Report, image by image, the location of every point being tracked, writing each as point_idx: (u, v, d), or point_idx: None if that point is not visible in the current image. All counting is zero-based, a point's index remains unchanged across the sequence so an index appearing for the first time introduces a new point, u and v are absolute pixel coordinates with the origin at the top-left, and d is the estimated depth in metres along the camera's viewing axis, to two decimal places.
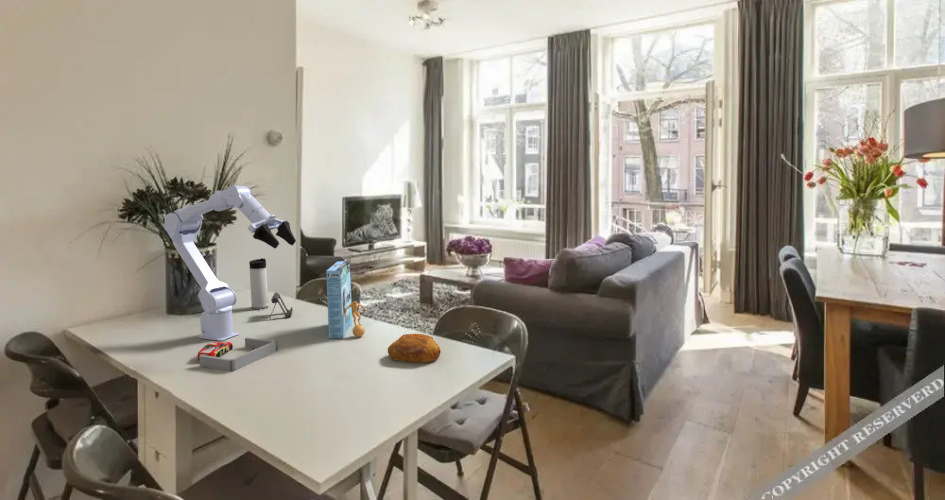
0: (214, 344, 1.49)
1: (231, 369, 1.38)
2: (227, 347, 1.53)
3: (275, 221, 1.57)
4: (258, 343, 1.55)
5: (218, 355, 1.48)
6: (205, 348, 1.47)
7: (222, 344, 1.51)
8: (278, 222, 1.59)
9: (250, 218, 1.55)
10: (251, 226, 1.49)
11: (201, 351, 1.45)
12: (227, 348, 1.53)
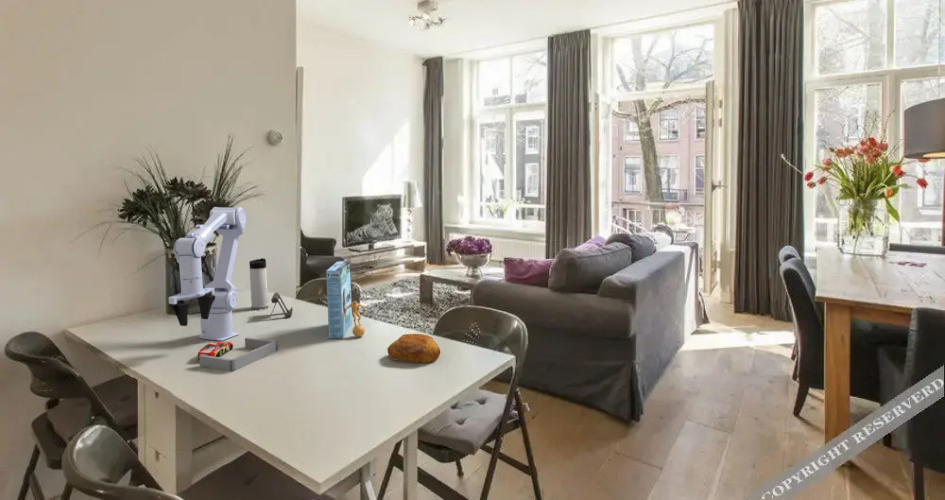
0: (214, 344, 1.49)
1: (231, 369, 1.38)
2: (227, 347, 1.53)
3: None
4: (258, 343, 1.55)
5: (218, 355, 1.48)
6: (205, 348, 1.47)
7: (222, 344, 1.51)
8: None
9: (181, 280, 1.48)
10: (172, 300, 1.44)
11: (201, 351, 1.45)
12: (227, 348, 1.53)
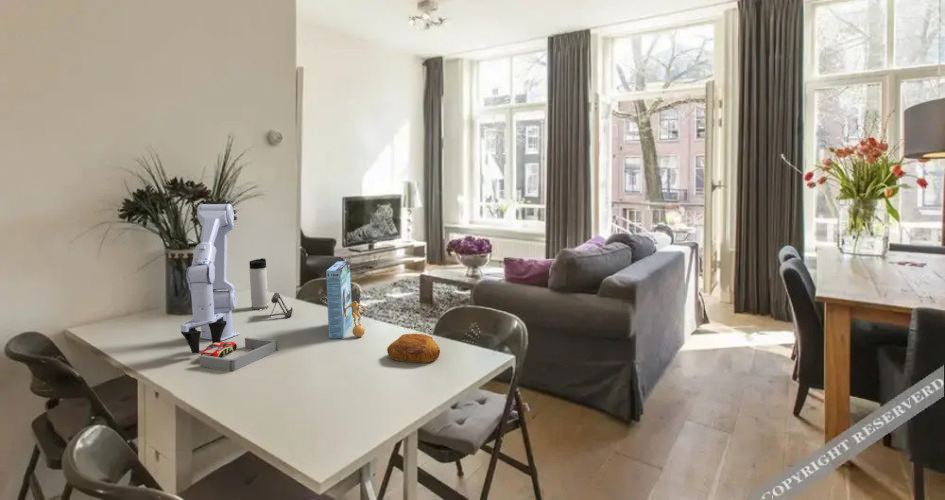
0: (217, 344, 1.48)
1: (231, 369, 1.38)
2: (231, 347, 1.52)
3: None
4: (258, 343, 1.55)
5: (221, 355, 1.48)
6: (208, 348, 1.46)
7: (226, 344, 1.51)
8: None
9: (192, 307, 1.48)
10: (184, 328, 1.44)
11: (204, 351, 1.45)
12: (231, 348, 1.52)
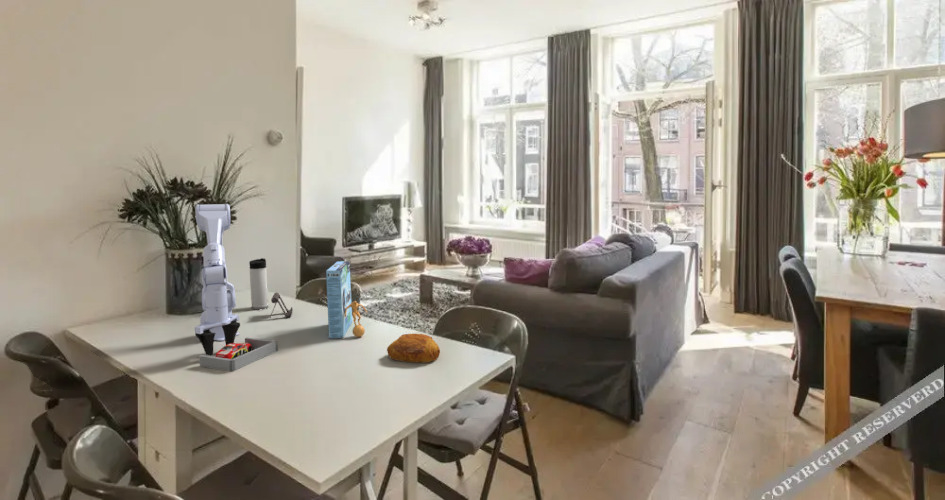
0: (232, 345, 1.48)
1: (231, 369, 1.38)
2: (246, 348, 1.51)
3: None
4: (258, 343, 1.55)
5: None
6: (223, 349, 1.46)
7: (240, 345, 1.50)
8: None
9: (206, 308, 1.46)
10: (198, 329, 1.42)
11: (219, 352, 1.44)
12: (246, 349, 1.51)
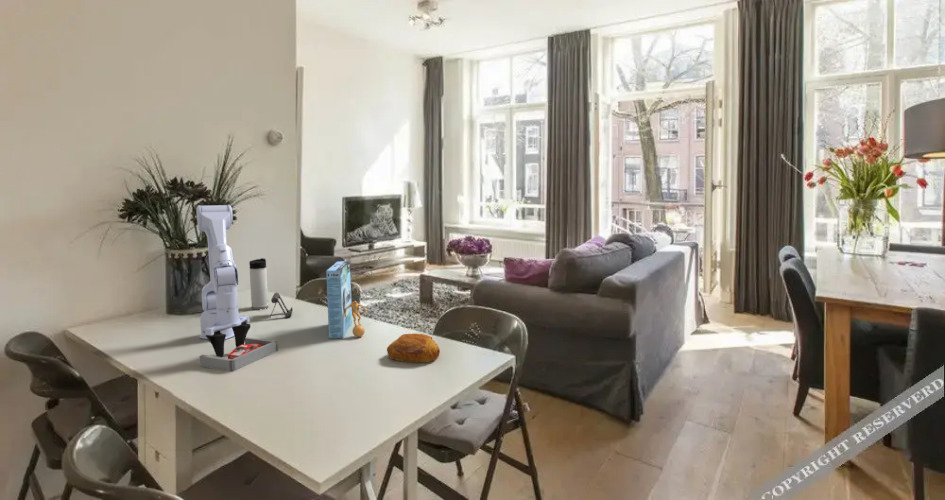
0: (244, 346, 1.47)
1: (231, 369, 1.38)
2: None
3: None
4: (258, 343, 1.55)
5: None
6: (235, 350, 1.45)
7: (252, 346, 1.49)
8: None
9: (217, 310, 1.45)
10: (209, 331, 1.41)
11: (231, 353, 1.44)
12: None
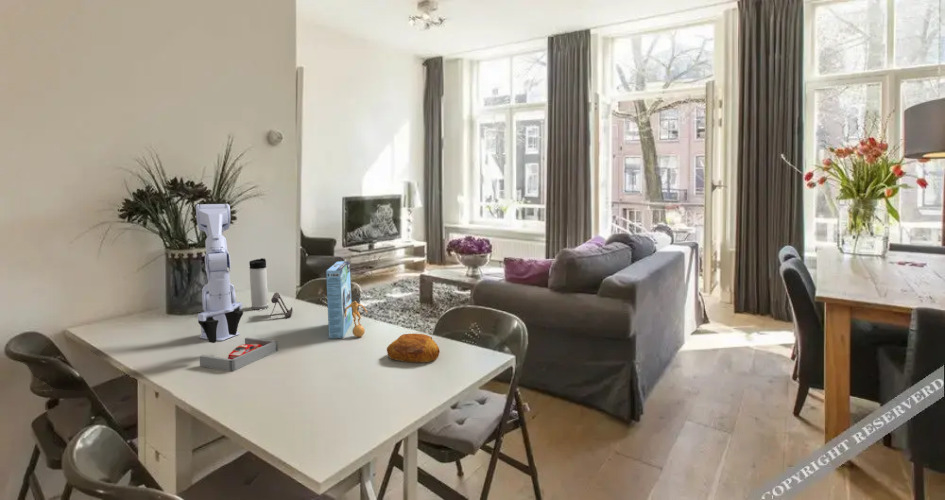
0: (244, 346, 1.47)
1: (231, 369, 1.38)
2: None
3: None
4: (258, 343, 1.55)
5: None
6: (235, 350, 1.45)
7: (252, 346, 1.49)
8: None
9: (209, 296, 1.45)
10: (202, 317, 1.41)
11: (231, 353, 1.44)
12: None
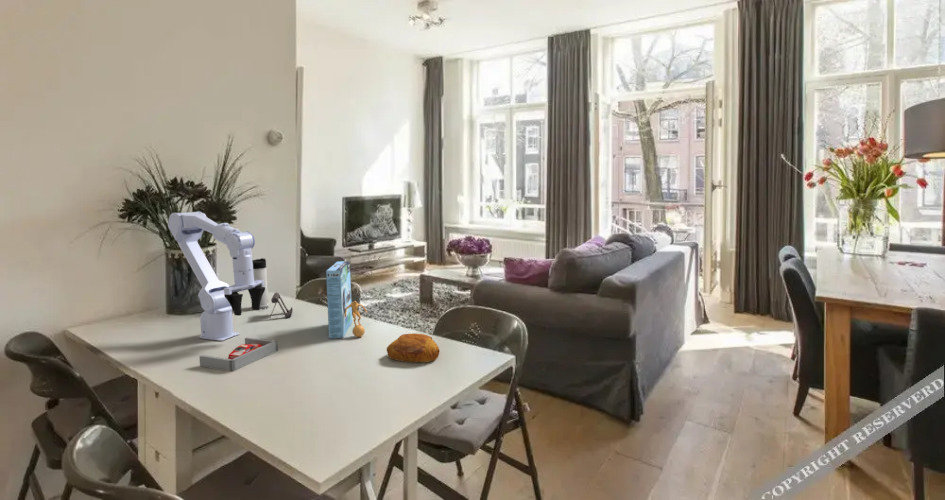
0: (245, 346, 1.47)
1: (231, 369, 1.38)
2: None
3: None
4: (258, 343, 1.55)
5: None
6: (236, 350, 1.45)
7: (253, 346, 1.49)
8: None
9: (234, 272, 1.58)
10: (227, 290, 1.53)
11: (232, 353, 1.44)
12: None
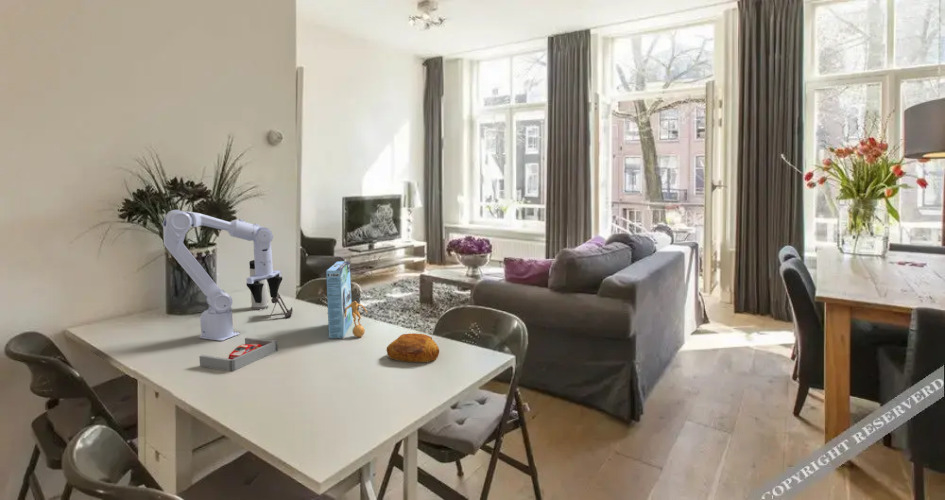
0: (245, 346, 1.47)
1: (231, 369, 1.38)
2: None
3: None
4: (258, 343, 1.55)
5: None
6: (236, 350, 1.45)
7: (253, 346, 1.49)
8: None
9: (255, 263, 1.71)
10: (250, 280, 1.67)
11: (232, 353, 1.44)
12: None
